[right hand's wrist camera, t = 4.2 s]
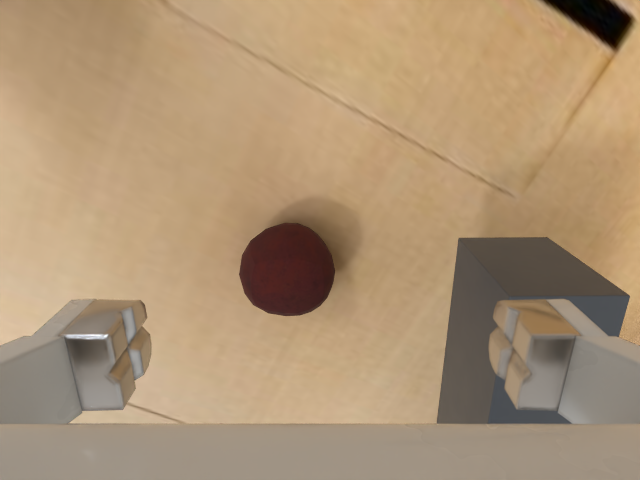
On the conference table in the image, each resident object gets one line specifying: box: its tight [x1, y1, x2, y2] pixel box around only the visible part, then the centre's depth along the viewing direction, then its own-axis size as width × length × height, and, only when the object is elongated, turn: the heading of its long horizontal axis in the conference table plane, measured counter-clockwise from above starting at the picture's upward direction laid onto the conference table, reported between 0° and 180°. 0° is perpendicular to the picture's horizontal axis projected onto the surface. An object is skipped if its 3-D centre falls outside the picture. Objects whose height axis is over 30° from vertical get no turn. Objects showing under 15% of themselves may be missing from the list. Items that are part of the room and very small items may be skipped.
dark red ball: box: [239, 223, 335, 316], centre depth 35 cm, size 7×8×7 cm
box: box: [437, 237, 630, 424], centre depth 31 cm, size 26×6×9 cm, turn 0°
